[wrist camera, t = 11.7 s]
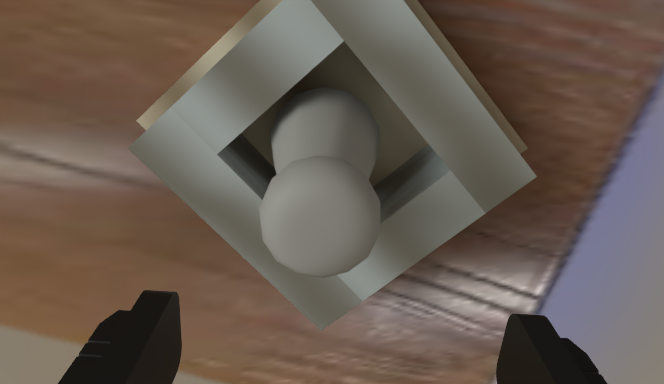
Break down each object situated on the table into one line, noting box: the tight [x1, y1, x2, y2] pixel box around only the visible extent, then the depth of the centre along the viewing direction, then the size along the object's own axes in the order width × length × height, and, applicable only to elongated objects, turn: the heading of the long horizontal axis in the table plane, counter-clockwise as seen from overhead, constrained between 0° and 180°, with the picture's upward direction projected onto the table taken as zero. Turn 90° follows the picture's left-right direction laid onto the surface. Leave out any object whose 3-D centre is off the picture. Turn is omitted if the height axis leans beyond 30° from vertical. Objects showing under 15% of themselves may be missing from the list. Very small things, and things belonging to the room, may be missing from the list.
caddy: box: [128, 0, 537, 331], centre depth 27 cm, size 16×16×6 cm
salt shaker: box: [259, 87, 380, 278], centre depth 22 cm, size 6×6×13 cm
